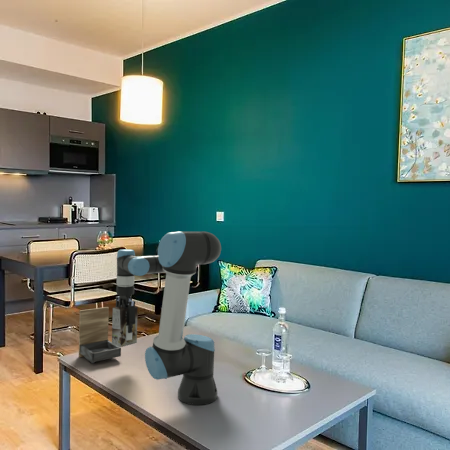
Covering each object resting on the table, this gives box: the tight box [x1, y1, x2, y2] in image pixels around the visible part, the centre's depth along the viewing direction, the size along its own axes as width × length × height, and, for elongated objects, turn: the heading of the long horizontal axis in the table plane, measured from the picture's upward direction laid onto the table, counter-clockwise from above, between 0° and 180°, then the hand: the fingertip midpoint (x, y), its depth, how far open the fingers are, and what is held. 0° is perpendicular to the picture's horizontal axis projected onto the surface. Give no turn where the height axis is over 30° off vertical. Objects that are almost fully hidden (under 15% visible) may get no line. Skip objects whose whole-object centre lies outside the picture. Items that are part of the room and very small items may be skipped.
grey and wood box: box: [78, 306, 122, 364], centre depth 203 cm, size 15×14×22 cm
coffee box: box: [111, 305, 139, 348], centre depth 191 cm, size 9×6×16 cm
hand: (124, 337), depth 191 cm, fingers closed on coffee box, 7 cm apart
